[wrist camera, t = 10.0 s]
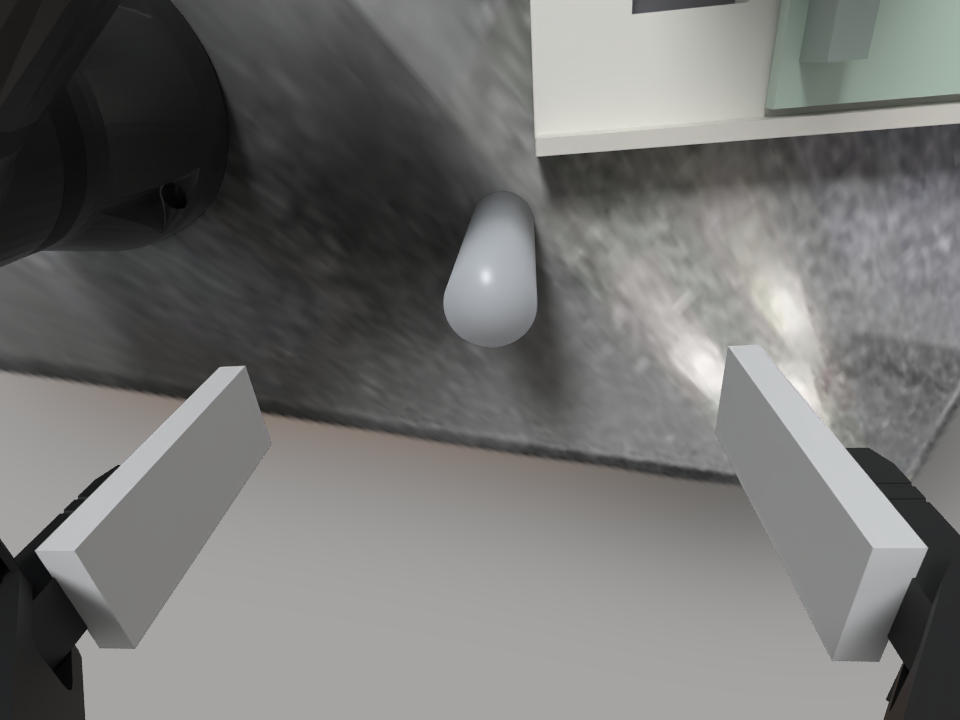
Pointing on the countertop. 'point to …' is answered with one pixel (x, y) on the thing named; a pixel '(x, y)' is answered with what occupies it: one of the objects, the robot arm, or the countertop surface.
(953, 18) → the lid
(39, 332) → the countertop surface
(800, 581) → the robot arm
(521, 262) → the pin
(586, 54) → the housing
